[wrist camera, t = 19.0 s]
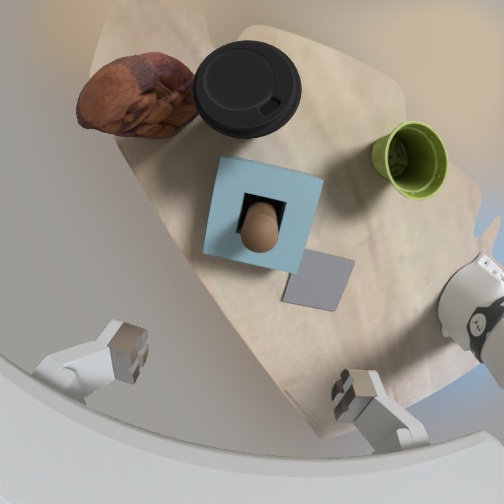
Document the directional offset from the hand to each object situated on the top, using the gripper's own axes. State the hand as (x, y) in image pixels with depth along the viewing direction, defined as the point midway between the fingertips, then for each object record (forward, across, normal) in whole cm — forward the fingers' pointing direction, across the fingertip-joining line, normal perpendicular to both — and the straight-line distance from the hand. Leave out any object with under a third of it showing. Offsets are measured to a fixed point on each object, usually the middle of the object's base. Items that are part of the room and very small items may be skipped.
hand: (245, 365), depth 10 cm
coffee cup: (+29, +4, -13) cm, 32 cm away
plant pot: (+29, -16, -12) cm, 35 cm away
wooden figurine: (+29, +15, -11) cm, 35 cm away
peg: (+29, 0, 0) cm, 29 cm away
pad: (+29, -11, +9) cm, 32 cm away
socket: (+29, 0, 0) cm, 29 cm away
